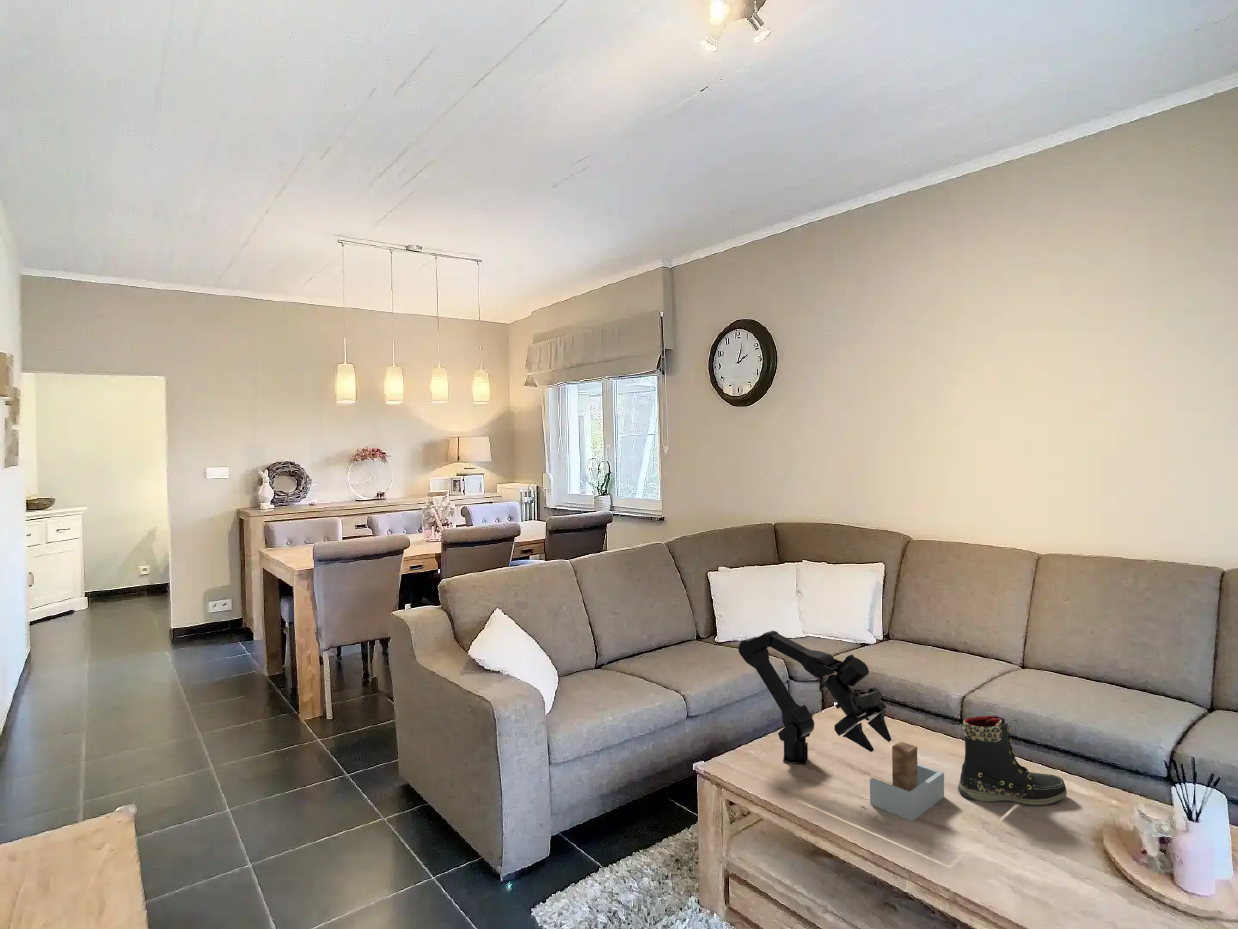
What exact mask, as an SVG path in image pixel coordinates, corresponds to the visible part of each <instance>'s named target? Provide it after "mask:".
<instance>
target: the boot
mask: <svg viewBox="0 0 1238 929" xmlns="http://www.w3.org/2000/svg"><path fill="white" fill-rule="evenodd" d="M1005 720H1006V719H1005V718H1004V717H1000V716H997V715H982V716H981V715H980V716H979V715H978V716H970V717H969V716H968V717H965V718H964V720H963V721H962V724H963V728H962V729H963V730H964V733H963V735H964V752H965V753H964V761H963V764H962V766H961V773H960V778H959V782H958V785H957V790H958V792H959V793H960V794H961V795H962V796H963V797H965V798H966V799H968V800H972V801H975V802H983V803H1011V804H1013V803H1014V804H1016V805H1021V806H1022V805H1023V806H1034V807H1035V806H1036V807H1037V806H1038V807H1039V806H1048V805H1053V804H1055V803H1057V802H1060V801H1062V800H1063V799H1064V798H1065V797H1067V794H1068V791H1067V787H1066V784H1065V781H1064V779H1062V778H1061V776H1057V775H1054V774H1048V773H1039V772H1032V771H1029V770H1028V768H1027V767H1026V766H1023V765H1021V764H1020V763H1019V762H1018V761H1017V759H1016V756H1015V754H1014V752H1013V747H1012V745H1011V744H1012V738H1011V735H1010V734H1009V732H1011V730H1012V729H1011V728H1010V727H1008V725H1009V724H1008V723H1007V722H1006V723H1005Z"/></svg>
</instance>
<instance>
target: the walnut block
mask: <svg viewBox="0 0 1238 929" xmlns="http://www.w3.org/2000/svg"><path fill="white" fill-rule="evenodd" d="M891 755H892V756H891V758H892V762H891V763H892V766H891V767H892V769H891V770H892V772H891V773H892V774H891V776H892V777H891V778H892V785H893V786H896V787H898V788H901V789H904V790H906V791H909V792H910V791H911V790H913V789H914V788H916V787H917V786H918V776H917V763H918V746H915V745H913V744H909V743H906V742H904V741H899V742H897V743H896V744H894V745H892V747H891Z"/></svg>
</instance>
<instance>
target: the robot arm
mask: <svg viewBox="0 0 1238 929" xmlns="http://www.w3.org/2000/svg"><path fill="white" fill-rule="evenodd" d="M768 648H772V649H773V650H776V651H777V652H778V653H780V654H782V655H785V656H786V657H788V658H790V659H792V660H794V661H795V662H798V663H799V664H801V665H802V668H804V670H805V671H806V672H807V673H809V674H810V675H812V677H814V678H817V679H819V687H818V690H819V691H822V690H824V689H826V690H827V691H828V692H829V694H830V696H831V697H832V698H833V699H834V700H835V702H836V705H835V708H836V709H841V710H842V712H843V713H844V714H845V716H844V717H843V718H842V719H840V720H839V721H838V722H837V723H836V724H834V728H833V729H834V731H835V733H836V735H837V736H838V737H840V736H842V738H846V739H847V740H850V741H852V742H854V743H855V744H857V745H859V746H860V747H862V748H863V749H865V750H867V751H869V752H870V753H872V752H874V751H875V749H874V747H873V745H872V744H871V742H870V740H869V739H868V737H867V735H866V734H865V732H864V731H863V723H862V721H864V720H866V721H868V722H867V725H869V726H870V727H871V728H872V729H874V731H875V732H876V733H878V735H880V736H881V737H882V738H883V739H884V740H886V741H887V742H888V743H890V742H891V741H892V737H891V733H890V731H889V729H888V726H887V724H886V720H885V715H886V713H887V710H886V709H887V708H888V707H887V705H886V704H885V703H884V701H882V699H881V698H882V696H883V694H882V693H881V691H880V690H879V689H878V688H877V687H876V686H874V687H870V688H868V690H867V692H866V693H863V694H861V692H860V691H858V690H854V689H853V688H852V687H855V686H856V685H858V684H859V683H860V682H861V681H863V680H864V679H865V678H866V677H867V676H868V675H869V674H870V670H869V667H868V665H867V664H866V663H865V661H862V660H861V659H860V658H857V657H855V656H854V654H852V653H851V654H849V655H847V656H846V657H845V658H844V660H843V661H841V660H840V659H839V660H838V659H837V658H835V657H833V655H831V654H830V653H827V652H824V651H820V650H814V649H810V648H807V647H805V646H802V645H801V644H800V643H797V642H796V641H794V640H792V639H789V638H787V637H785V636H784V635H781V634H780V633H779V632H777V631H775V630H769V631H767V632H763V634H760V635H759V636H753V637H750V638H747V639H744V640H741V641H740V643H739V645H738V650H737V651H738V653H739V655H740V657H741V658H742V659H743V660H744V662H746V664H748V665H749V666H751V667H752V668H754V669H755V671H756V672H757V673H758V675H759V676H760V678H761V680H762V682H763V683H764V684H765V686H766V689H767V690H768V692H769V694H771V697H772V699H773V700H774V701H775V703H776V704H777V706H778V707H779V709H780V711H781V717H782V718H781V720H782V723H783V725H784V727H783V728H782V729H781V730H780V731H779V732H778V737H779V740H780V741H782V742H783V760H782V762H784V763H789V764H790V763H791V764H792V763H793V764H802V765H806V764H807V761H808V759H809V743H808V742H807V738H809V737H810V735H811V733H812V732H813V731H814V730H815V721H814V719H813V718H814V716H813V715H812V713H811V712H810V711H809V709H808V707H807V706H806V705H805V704H803V705H801V706H800V705H799V704H798V703H797V702H796V701H795V699H794V698H793V697H792V695H791V693H790V691H789V690H788V688H787V687H786V685H785V684H784V682H783V681H782V679H781V677H780V676H779V674H778V673H777V671H776V670H775V668H774V666H773V664H772V663H771V661H770V654H769V649H768ZM834 673H836V674H834ZM825 676H827V677H826V678H824V677H825ZM822 677H823V678H822ZM820 678H822V679H820Z"/></svg>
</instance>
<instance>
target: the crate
mask: <svg viewBox="0 0 1238 929" xmlns="http://www.w3.org/2000/svg"><path fill="white" fill-rule="evenodd" d="M917 776H918V786H917V787H916V788H914V789H913V790H911V791H910V792H909V791H906V790H904V789H901V788H898V787H896V786H893V784H890V783H887V782H885V781H883V780H879V779H877V778H874V777H871V778H869V795H870V796H869V797H870V798H869V805H871V806H873V807H876V808H878V809H881V810H884V811H886V812H888V813H890V814H894V815H896V816H899V817H901V818H903V819H905V820H908V821H911V822H913V821H915V820H916V819H918V818H919V817H920V816H921V815H922V814H924V813H925V812H927V811H928V810H929V809H930V808H932V807H933V806H934V805H935V804H937V803H938V802H940V801H941V800H942V799H944V798H945V772H944V771H941V770H938V769H935V768H932V767H929V766H926V765H923V764H920V763H918V762H917Z"/></svg>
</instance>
